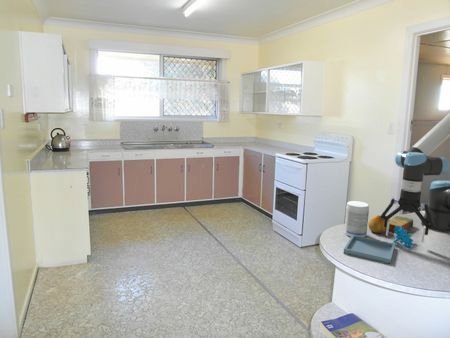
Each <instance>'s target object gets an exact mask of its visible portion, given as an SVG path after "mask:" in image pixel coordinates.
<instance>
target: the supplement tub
mask: <svg viewBox="0 0 450 338" xmlns="http://www.w3.org/2000/svg"><path fill="white" fill-rule="evenodd" d="M369 213H370V205H369V204H368V203H366V202H365V201H364V202H363V201H358V200H357V201H356V200H351V201H348V202H346V208H345V221H344V234H345V236H349V237H350V238H351V237H352V235H355V236H360V237H364V238H366V237H367V234H368V223H369V215H370V214H369Z"/></svg>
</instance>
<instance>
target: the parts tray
mask: <svg viewBox="0 0 450 338" xmlns="http://www.w3.org/2000/svg"><path fill="white" fill-rule="evenodd" d="M395 247H396V243H394V242H388V241H383V240H378V239H373V238H368V237H360V236H355V235H352V237H350V238H349V240H348V242H347V243H346V245H345V247H344V249H343V254H344V255H349V256H353V257H357V258H362V259H365V260H370V261H374V262H379V263H382V264H383V263H384V264H387V265H390V264H391V261H392V258H393V255H394V252H395Z"/></svg>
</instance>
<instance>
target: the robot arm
mask: <svg viewBox="0 0 450 338" xmlns="http://www.w3.org/2000/svg"><path fill="white" fill-rule="evenodd" d="M449 137H450V109H449V110H448V111H447V115H446V116H444V117H443V119H441V120H440V121H439V122H438V123H437V124H436V125H434V127H432V128H431V129H430V130H428V132H427V133H426V134H425V135H423V136H422V137H421V138H420V139H419V140H418V141H417V142H416V143H415V144H413V145H412V146H411V147H410V148H409V149H408V150H401V151H399V152H397V154H396V155H395V158H394V162H395V164H396V165H397V166H398V167H400V168H403V170H402V171H403V172H402V178H401V186H400V188H401V189H400V194H399V199H396V198H394V197H391V200H390V202H389V204H388V205H387V207H386V208H385V209H384V211H383V212H382V213H381V215H380V216H381V218H383V219H384V220H385V222H384V227H387V229H386V231H385V236H386V237H387V236H389V233H390V232H389V224H390V219H392V218H393V216H394V217H395V215H396V214H398V213H400V212H401V211H403V212H408V213H415V215H417V217H418V219H419V220H420V221H421V222H420V225H421V226H422V228H423V229H422V233H421V234H422V235H421V243H422V244H423V243H425V242H424V240H425V236H428V234H429V230H432V231H436V232H441V233H442V232H443V233H450V180H433V181H432V182H431V184H430V187H429V193H428V200H427V201H428V202H424V203H421V196H422V188H423V183H424V182H423V181H424V176H442V175H446V174H447V173H448V171H450V162H449V160H448V159H447V158H446V157H443V156H431V154H432V153H433V152H434V151H435V150H436V149H437V148H438V147H440V146H441V145H442V144H443V143H444V142H445V141H446V140H447V139H448V138H449ZM396 204H398V205H399V206H398V207H396V209H394V210H393V211H392V212H390V213H389V214H388V212H389V211H390V210H391V209H392V207H393V206H394V205H396ZM420 207H421V208H422V209H423V210H424V212H425V213H424V215H423V214H422V212H420V210H419V208H420Z"/></svg>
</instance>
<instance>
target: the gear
mask: <svg viewBox="0 0 450 338" xmlns="http://www.w3.org/2000/svg"><path fill="white" fill-rule="evenodd" d="M394 229H395V230H396V231H394V233H393V234H395V235H396V236H395V239H393V243H398V241H399V243H400V244H403V247H405V248H407V249H408V248H411V247H412V246H414V243H413V242H414V240H413V239H412V233H408V230H404V231H403V229H404V228H403V227H402V226H401V227H400V226H396V227H395V228H394Z"/></svg>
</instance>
